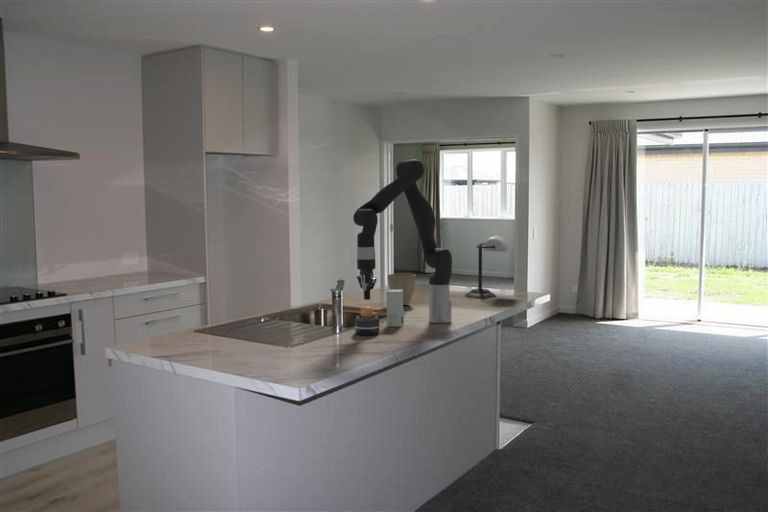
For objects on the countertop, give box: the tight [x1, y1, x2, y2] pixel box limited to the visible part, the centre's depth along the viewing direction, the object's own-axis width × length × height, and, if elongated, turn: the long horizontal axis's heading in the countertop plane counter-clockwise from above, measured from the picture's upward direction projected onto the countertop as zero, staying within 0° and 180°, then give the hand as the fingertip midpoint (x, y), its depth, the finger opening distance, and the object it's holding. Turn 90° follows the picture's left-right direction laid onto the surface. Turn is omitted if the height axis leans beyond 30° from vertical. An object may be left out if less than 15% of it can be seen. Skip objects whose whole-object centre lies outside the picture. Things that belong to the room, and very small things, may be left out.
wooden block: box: [360, 306, 374, 318], centre depth 272 cm, size 5×6×5 cm
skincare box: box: [385, 289, 405, 328], centre depth 289 cm, size 8×7×16 cm
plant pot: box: [387, 273, 417, 306], centre depth 343 cm, size 15×15×16 cm
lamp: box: [464, 235, 510, 299], centre depth 370 cm, size 26×24×34 cm
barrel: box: [354, 314, 380, 337], centre depth 272 cm, size 10×10×7 cm
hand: (367, 299), depth 272 cm, fingers closed
